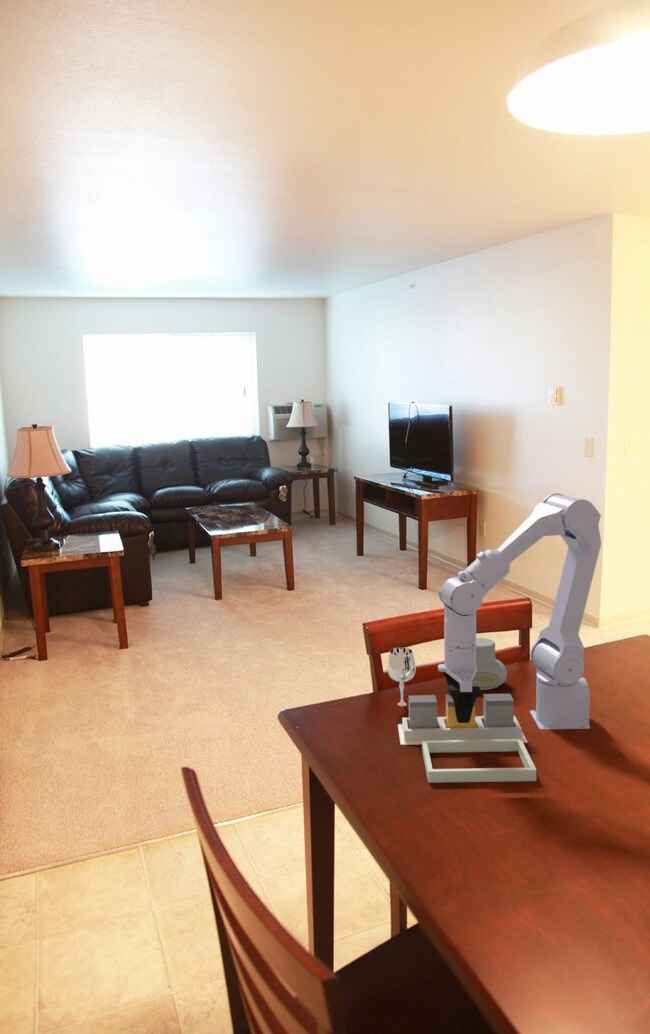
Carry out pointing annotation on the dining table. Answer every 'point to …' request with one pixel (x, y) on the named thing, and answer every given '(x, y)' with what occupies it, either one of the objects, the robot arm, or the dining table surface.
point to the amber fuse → (451, 716)
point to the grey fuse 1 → (422, 712)
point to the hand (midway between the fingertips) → (460, 712)
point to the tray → (478, 773)
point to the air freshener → (488, 666)
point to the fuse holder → (457, 732)
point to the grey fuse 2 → (498, 710)
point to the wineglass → (401, 667)
